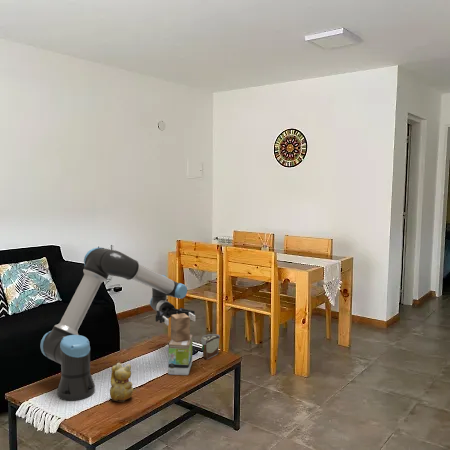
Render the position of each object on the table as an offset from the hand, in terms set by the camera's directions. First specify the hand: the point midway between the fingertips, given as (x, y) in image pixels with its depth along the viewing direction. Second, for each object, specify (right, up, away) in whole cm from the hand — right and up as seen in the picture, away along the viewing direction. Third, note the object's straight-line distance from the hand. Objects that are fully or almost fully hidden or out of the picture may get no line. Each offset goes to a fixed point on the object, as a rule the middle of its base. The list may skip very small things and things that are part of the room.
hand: (181, 320), depth 221 cm
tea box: (-1, -24, +3) cm, 24 cm away
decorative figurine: (-22, -27, -29) cm, 45 cm away
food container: (+12, -22, +20) cm, 32 cm away
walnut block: (-1, -9, +1) cm, 9 cm away
